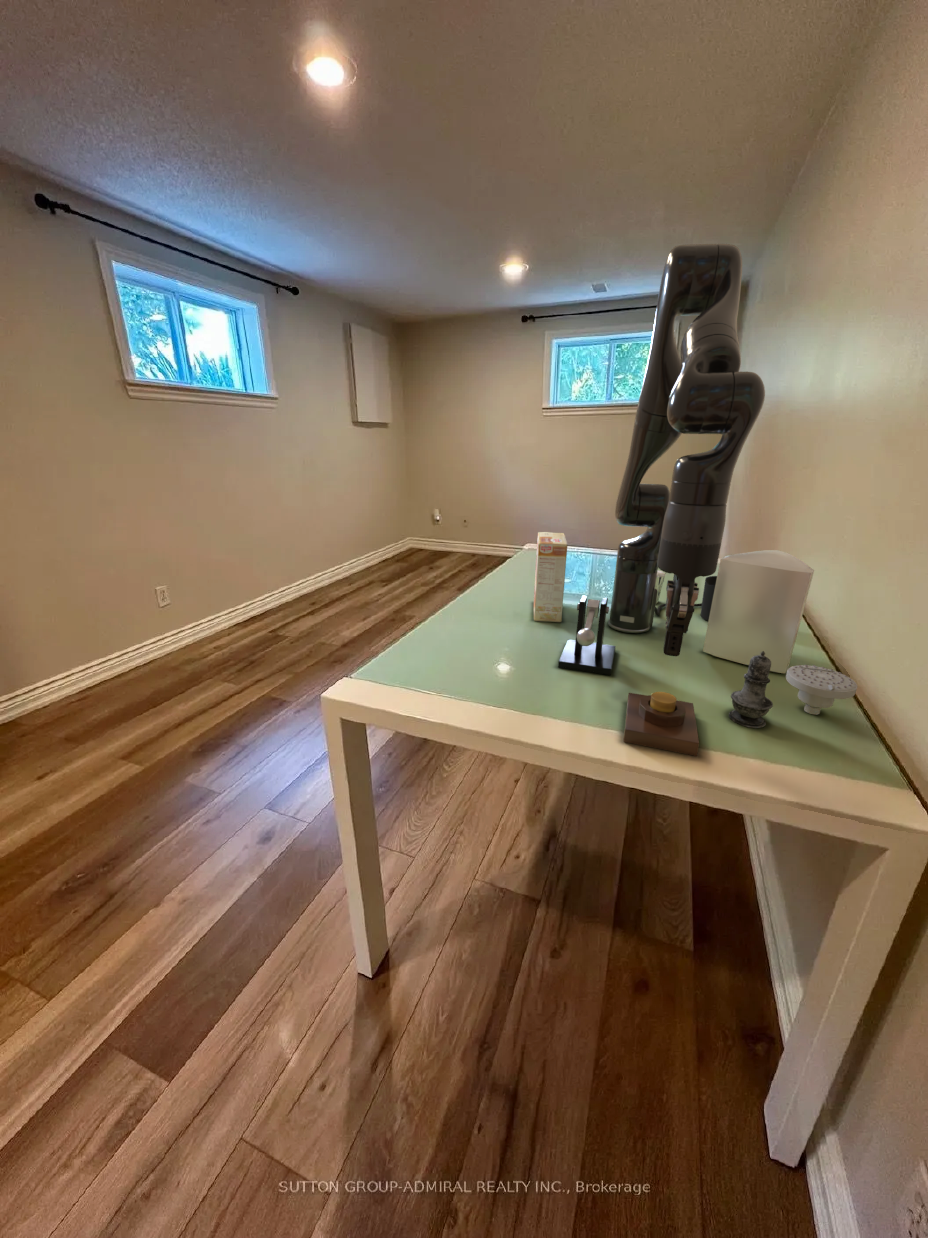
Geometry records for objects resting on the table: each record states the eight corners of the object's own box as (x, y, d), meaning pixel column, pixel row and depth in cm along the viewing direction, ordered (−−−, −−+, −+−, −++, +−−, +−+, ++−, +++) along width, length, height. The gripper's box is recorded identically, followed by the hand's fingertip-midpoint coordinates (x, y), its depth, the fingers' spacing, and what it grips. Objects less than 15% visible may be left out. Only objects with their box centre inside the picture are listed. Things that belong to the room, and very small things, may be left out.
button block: (627, 703, 83) (630, 682, 82) (690, 714, 80) (695, 693, 79) (623, 741, 73) (626, 718, 71) (696, 756, 69) (701, 732, 68)
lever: (593, 650, 88) (594, 636, 86) (574, 648, 89) (575, 633, 87) (601, 612, 98) (602, 598, 96) (585, 610, 99) (586, 596, 97)
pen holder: (741, 617, 125) (749, 579, 121) (738, 628, 117) (746, 588, 114) (701, 610, 130) (708, 574, 126) (695, 620, 122) (702, 582, 119)
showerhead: (798, 681, 76) (782, 656, 85) (787, 722, 78) (772, 693, 87) (871, 691, 73) (846, 664, 82) (857, 733, 75) (835, 702, 84)
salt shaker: (719, 710, 81) (733, 643, 77) (752, 709, 82) (768, 643, 78) (740, 730, 76) (757, 659, 72) (776, 728, 76) (795, 658, 72)
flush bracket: (610, 675, 93) (618, 612, 89) (558, 667, 96) (563, 605, 92) (614, 651, 104) (622, 594, 99) (567, 645, 107) (572, 588, 102)
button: (649, 699, 77) (651, 689, 77) (674, 703, 76) (676, 693, 76) (649, 710, 74) (651, 700, 73) (675, 715, 73) (677, 705, 72)
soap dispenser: (700, 654, 103) (720, 551, 95) (722, 636, 113) (741, 541, 105) (783, 677, 93) (813, 564, 86) (798, 655, 103) (826, 552, 96)
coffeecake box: (533, 602, 135) (537, 531, 128) (559, 603, 134) (565, 532, 127) (532, 621, 121) (537, 542, 114) (561, 622, 120) (568, 543, 113)
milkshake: (665, 605, 133) (670, 569, 130) (644, 604, 134) (649, 568, 131) (662, 600, 138) (667, 565, 134) (642, 599, 139) (647, 564, 135)
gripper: (728, 548, 59) (702, 677, 65) (716, 530, 71) (695, 641, 77) (662, 543, 61) (643, 668, 67) (660, 526, 73) (644, 634, 79)
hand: (670, 653), depth 72 cm, fingers closed
